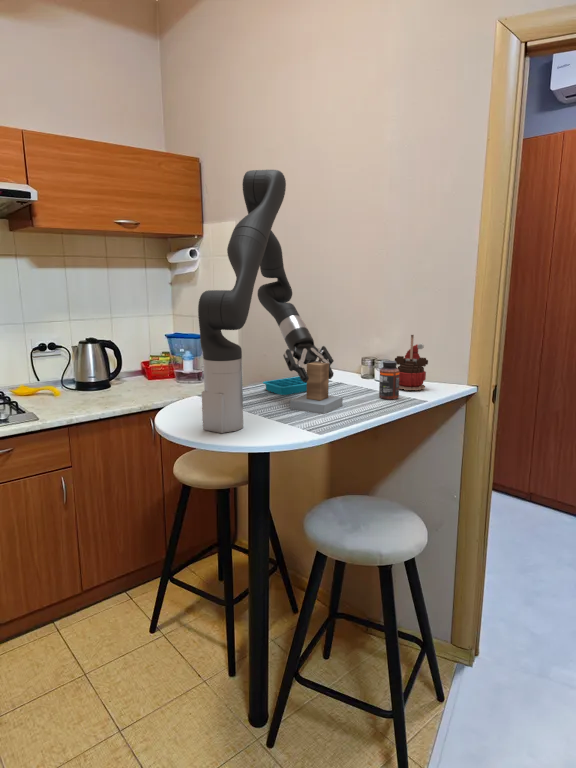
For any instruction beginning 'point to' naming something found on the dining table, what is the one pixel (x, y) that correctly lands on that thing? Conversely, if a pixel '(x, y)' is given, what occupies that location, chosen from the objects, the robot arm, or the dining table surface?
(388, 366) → the supplement bottle
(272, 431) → the dining table surface
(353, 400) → the dining table surface
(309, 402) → the base block
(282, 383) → the ice cube tray
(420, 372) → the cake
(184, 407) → the dining table surface
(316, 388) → the walnut post
